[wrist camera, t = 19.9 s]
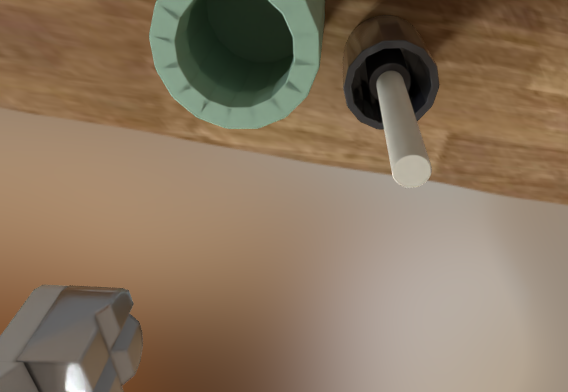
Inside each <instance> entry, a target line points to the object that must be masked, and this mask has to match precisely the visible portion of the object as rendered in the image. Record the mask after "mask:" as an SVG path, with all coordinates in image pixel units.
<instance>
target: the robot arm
mask: <svg viewBox="0 0 568 392" xmlns="http://www.w3.org/2000/svg"><path fill="white" fill-rule="evenodd" d="M132 306H133V301H132V298H131V296H130V293H129V290H126V289H123V288H107V287H88V286H58V285H41V286H40V287H38V288H36V289H34V291H33V292H32V293H31V295H30V296H29V297H28V299H27V300H26V301H25V303H24V304H23V306H22V307H21V308H20V310H19V311H18V313H17V314H16V315H15V317H14V318H13V319H12V321H11V322H10V323H9V325H8V326H7V328H6V329H5V330H4V332H3V333H2V334H1V336H0V392H124V391H123V389H122V385H123V384H125V383H126V382H127V381H128V380H129V379H131V378H132V377H133V376H134V375H135V373H136V371H137V368H138V365H139V363H140V359H141V353H142V346H143V338H142V330H141V326H140V323H139V321H137V320H136V319H135V318H134V317H133V316H132V315H130V314H129V313H130V310H131V309H132Z"/></svg>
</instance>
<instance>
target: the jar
mask: <svg viewBox="0 0 568 392" xmlns="http://www.w3.org/2000/svg"><path fill="white" fill-rule="evenodd" d="M324 20H325V0H157V1H156V3H155V8H154V13H153V18H152V23H151V28H150V33H149V39H150V44H151V49H152V54H153V59H154V64H155V69H156V71H157V72H158V74H159V76H160V77H161V79H162V81H163V82H164V84H165V86H166V87H167V89H168V91H169V92H170V94H171V96H172V97H173V98H174V99H175V100H176V101H177V102H179V103H180V104H181V105H182V106H183V107H185V108H186V109H187V110H188V111H190V112H191V113H192V114H193V115H194V116H196V117H197V118H199V119H202V120H204V121H207V122H210V123H213V124H215V125H218V126H221V127H224V128H228V129H257V128H261V127H263V126H266V125H268V124H271V123H273V122H276V121H278V120H281V119H283V118H285V117H287V116H288V115H289V114H290V113H291V112H292V111H293V110H294V109H295V108H296V107H297V106H298V105H299V104H300V103H301V102H302V101H303V100H304V99H305V98H306V97H307V95H308V94H309V91H310V89H311V86H312V84H313V81H314V79H315V76H316V74H317V71H318V69H319V66H320V58H321V48H322V39H323V30H324Z"/></svg>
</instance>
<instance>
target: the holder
mask: <svg viewBox="0 0 568 392" xmlns="http://www.w3.org/2000/svg"><path fill="white" fill-rule="evenodd" d="M389 48H399V49H400V50H401V52H402V54H403V57H404V60H405V62H406V65H407V68H408V70H409V73H410V76H411V86H410V89H409V91H408V95H409V99H410V102H411V105H412V108H413V111H414V114H415V117H416V120H417V121H418V120H419V119H420V118H421V117H422V116H423V115H424V114H425V113H426V112H427V111H428V110H429V109H430V108H431V107H432V105H433V103H434V100H435V97H436V95H437V92H438V89H439V78H438V70H437V65H436V63H435V61H434V60H433V58H432V56H431V54H430V52H429V50H428V48H427V46H426V44H425V43H424V41H423V39H422V37H421V36H420V35H419V33H418V31H417V30H416V29H415V27H414V26H413V25H412V24H410V23H409V22H408V21H406V20H404V19H402V18H400V17H397V16H392V15H381V16H376V17H373V18H370V19H368V20H366V21H364V22H363V23H361V24H360V25H359V26H358V27H357V28H356V29H355V30H354V31H353V32H352V33H351V35H350V36H349V38H348V40H347V42H346V45H345V49H344V56H343V90H344V94H345V98H346V103H347V106H348V108H349V109H350V111H351V112H352V113H353V114H354V115H355V116H356V118H357V119H358V120H359V121H360V122H362V123H364V124H367V125H369V126H371V127H373V128H376V129H384V125H383V120H382V114H381V109H380V103H379V100H377V99H376V98H374V96H373V95H372V94H371V92H370V89H369V84H368V77H367V70H366V58H367V57H368V56H370V55H372V54H374V53H376V52H378V51H380V50H382V49H389Z"/></svg>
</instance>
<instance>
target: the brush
mask: <svg viewBox="0 0 568 392" xmlns="http://www.w3.org/2000/svg"><path fill="white" fill-rule="evenodd" d="M366 70H367V77H368V84H369V89H370V92H371V94H372V95H373V96H374V98H376V99H377V100H379V103H380V109H381V114H382V120H383V125H384V131H385V136H386V142H387V147H388V153H389V158H390V164H391V169H392V175H393V178H394V180H395V181H396V182H397V183H398V184H399V185H401V186H403V187H407V188H414V187H418V186H420V185H422V184H424V183H425V182H426V181H427V180H428V179H429V177H430V175H431V172H432V167H431V164H430V161H429V157H428V154H427V151H426V148H425V145H424V142H423V139H422V136H421V133H420V130H419V126H418V123H417V120H416V117H415V114H414V111H413V108H412V105H411V102H410V99H409V95H408V91H409V89H410V86H411V76H410V73H409V70H408V68H407V65H406V62H405V60H404V57H403V54H402V52H401V50H400V49H399V48H389V49H382V50H380V51H378V52H376V53H374V54H372V55H370V56H368V57H367V58H366Z"/></svg>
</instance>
